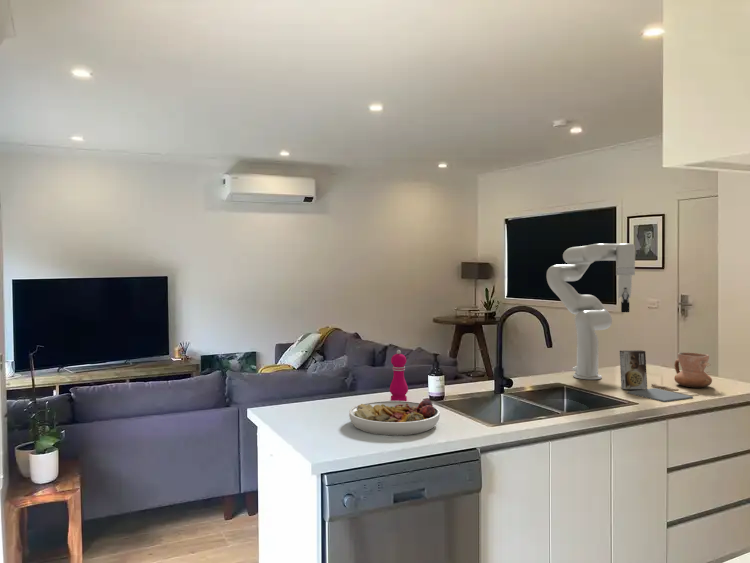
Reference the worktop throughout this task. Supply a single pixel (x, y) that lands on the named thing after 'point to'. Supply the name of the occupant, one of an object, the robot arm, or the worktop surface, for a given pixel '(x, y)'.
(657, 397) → the mat
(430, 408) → the bowl
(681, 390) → the turner
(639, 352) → the coffee box
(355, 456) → the worktop surface
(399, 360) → the pepper mill
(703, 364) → the ceramic jug
